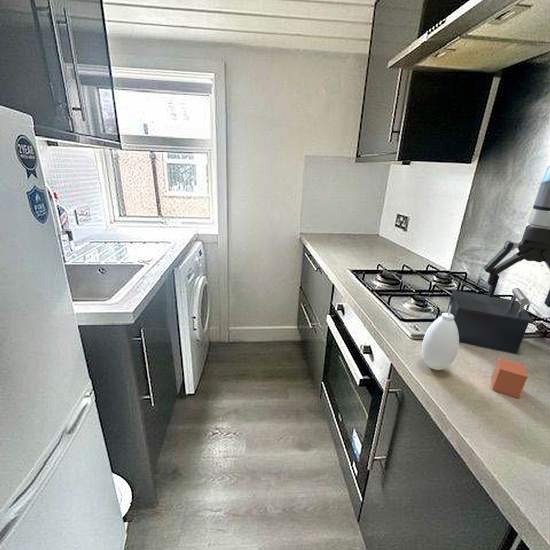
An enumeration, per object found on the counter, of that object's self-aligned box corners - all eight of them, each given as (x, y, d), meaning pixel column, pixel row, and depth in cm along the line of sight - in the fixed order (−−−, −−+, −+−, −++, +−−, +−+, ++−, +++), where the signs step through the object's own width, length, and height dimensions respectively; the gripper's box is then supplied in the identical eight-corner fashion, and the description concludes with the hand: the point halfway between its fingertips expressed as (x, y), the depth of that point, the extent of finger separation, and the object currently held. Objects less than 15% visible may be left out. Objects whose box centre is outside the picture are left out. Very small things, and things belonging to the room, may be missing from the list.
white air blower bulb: (447, 361, 80) (465, 300, 74) (454, 380, 73) (474, 315, 67) (415, 355, 82) (430, 295, 76) (419, 373, 75) (435, 309, 69)
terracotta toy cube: (516, 385, 72) (524, 364, 70) (518, 398, 68) (527, 377, 66) (491, 377, 75) (498, 357, 72) (492, 389, 71) (500, 368, 68)
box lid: (517, 303, 92) (523, 285, 90) (532, 324, 80) (540, 304, 78) (452, 292, 98) (456, 275, 96) (457, 310, 87) (462, 291, 84)
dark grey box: (504, 330, 96) (513, 302, 92) (516, 354, 84) (528, 323, 81) (444, 319, 102) (451, 292, 98) (449, 339, 90) (457, 310, 87)
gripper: (600, 229, 77) (567, 304, 85) (485, 219, 86) (465, 287, 93) (617, 235, 70) (580, 315, 78) (491, 223, 79) (469, 296, 87)
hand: (517, 300), depth 86 cm, fingers open, 13 cm apart
